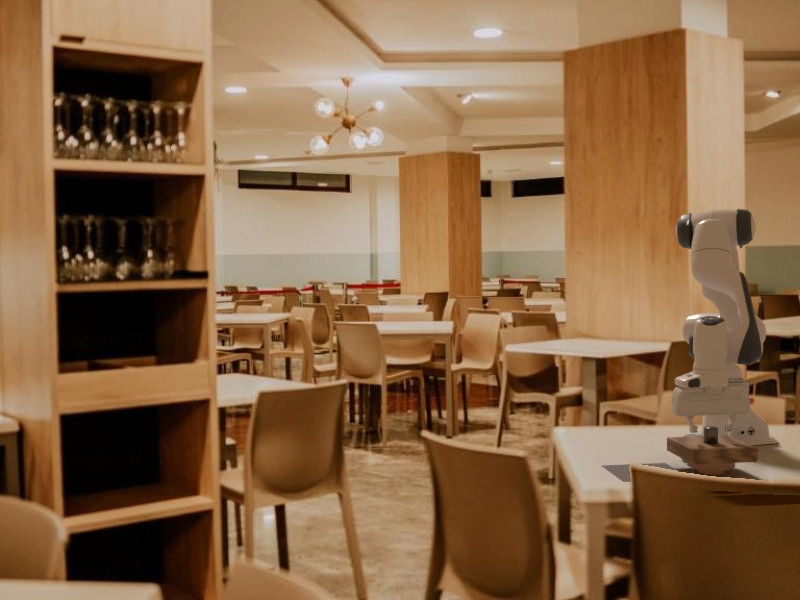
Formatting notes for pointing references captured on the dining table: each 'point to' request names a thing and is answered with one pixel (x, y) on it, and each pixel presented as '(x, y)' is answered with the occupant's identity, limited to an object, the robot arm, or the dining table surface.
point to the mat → (624, 473)
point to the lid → (712, 448)
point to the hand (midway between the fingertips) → (710, 431)
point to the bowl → (712, 467)
